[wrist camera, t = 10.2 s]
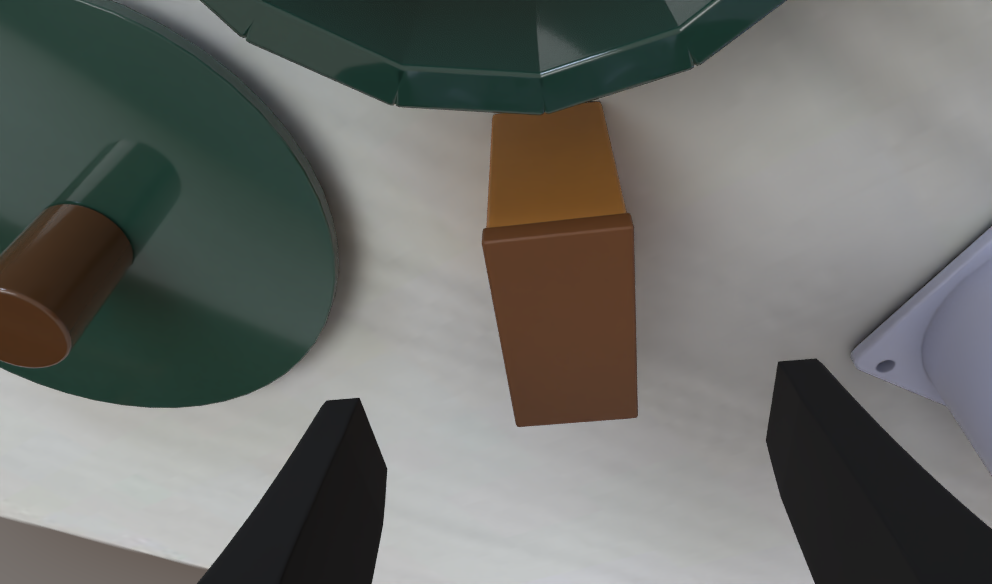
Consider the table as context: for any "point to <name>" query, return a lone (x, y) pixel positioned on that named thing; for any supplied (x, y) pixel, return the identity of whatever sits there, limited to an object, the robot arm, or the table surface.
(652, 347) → the table surface
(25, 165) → the lid
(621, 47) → the pot
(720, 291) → the table surface
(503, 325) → the brown block
